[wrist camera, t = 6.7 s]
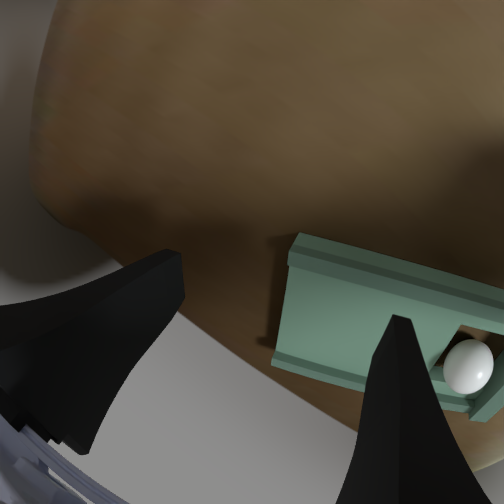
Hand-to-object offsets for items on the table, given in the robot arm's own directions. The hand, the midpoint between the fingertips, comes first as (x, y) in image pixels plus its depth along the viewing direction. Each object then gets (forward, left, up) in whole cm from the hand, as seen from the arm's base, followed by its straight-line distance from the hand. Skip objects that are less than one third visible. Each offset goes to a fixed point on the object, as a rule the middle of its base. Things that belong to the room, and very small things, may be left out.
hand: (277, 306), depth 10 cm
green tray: (-9, +9, -10) cm, 16 cm away
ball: (-13, +9, -8) cm, 18 cm away
